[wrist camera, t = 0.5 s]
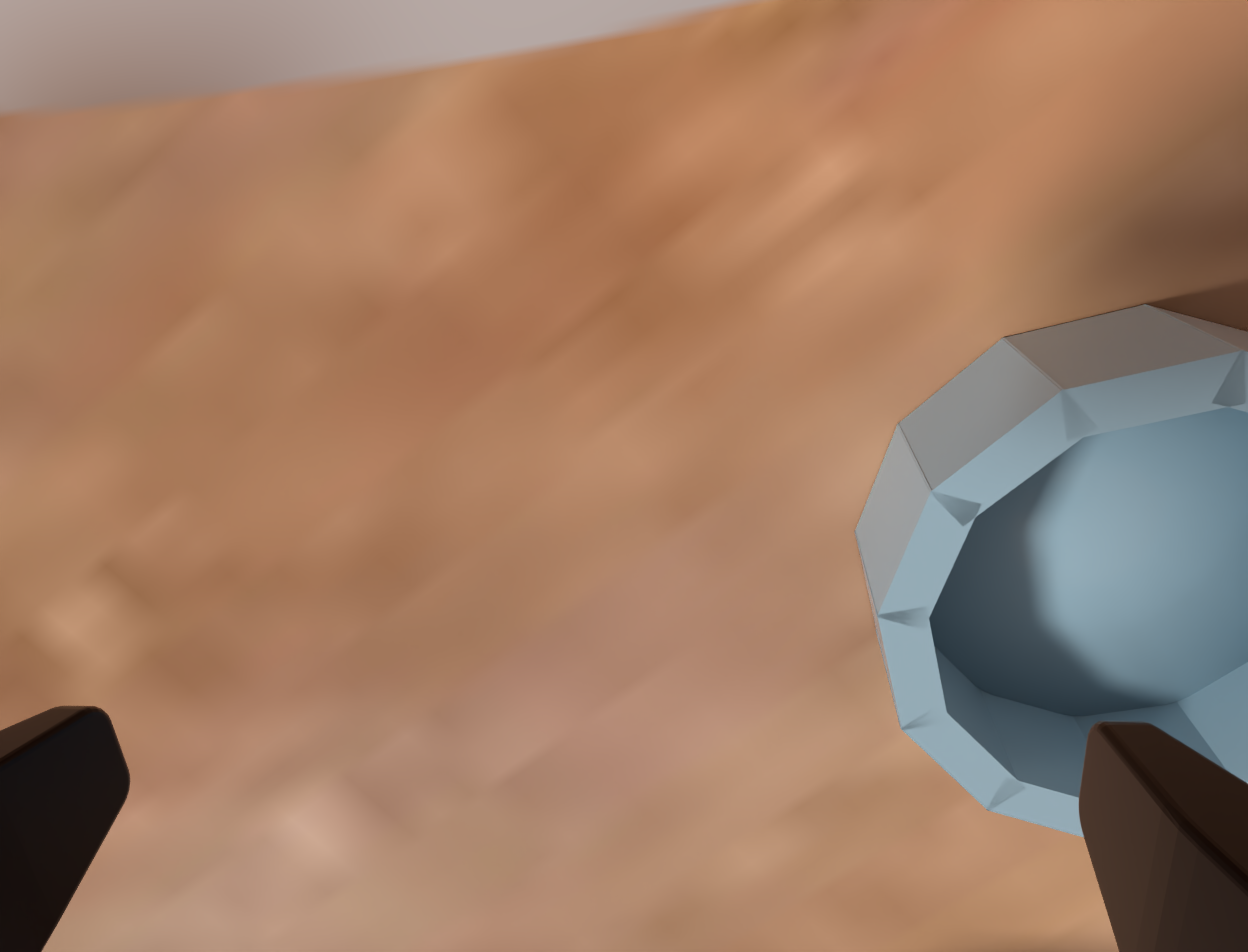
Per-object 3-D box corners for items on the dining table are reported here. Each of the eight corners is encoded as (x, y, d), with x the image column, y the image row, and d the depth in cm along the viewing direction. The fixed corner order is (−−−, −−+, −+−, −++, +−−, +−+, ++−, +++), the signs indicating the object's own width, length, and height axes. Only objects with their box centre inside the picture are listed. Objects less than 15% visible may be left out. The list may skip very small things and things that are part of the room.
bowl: (1354, 689, 22) (1479, 807, 18) (901, 751, 24) (930, 866, 20) (1357, 253, 18) (1515, 289, 14) (821, 380, 20) (838, 438, 17)
